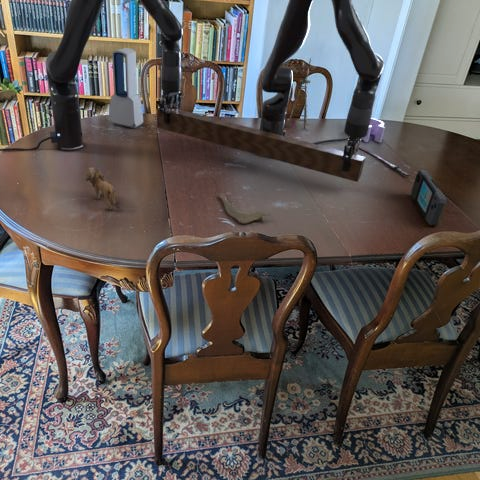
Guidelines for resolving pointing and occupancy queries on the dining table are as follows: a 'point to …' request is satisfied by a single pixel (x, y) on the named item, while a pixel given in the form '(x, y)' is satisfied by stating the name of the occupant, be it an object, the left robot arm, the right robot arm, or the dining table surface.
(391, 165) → the sword
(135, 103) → the electronic device
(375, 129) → the clip
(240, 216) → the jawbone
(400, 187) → the dining table surface
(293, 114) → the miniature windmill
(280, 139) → the post
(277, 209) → the dining table surface
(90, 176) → the lion figurine
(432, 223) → the handheld gaming console
